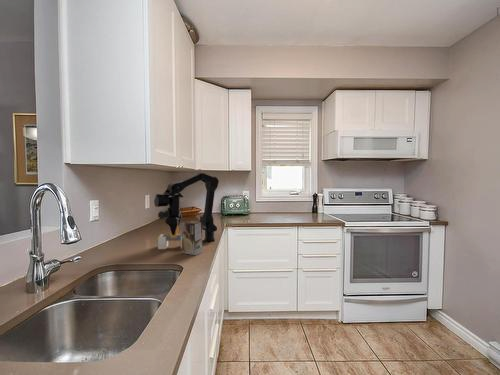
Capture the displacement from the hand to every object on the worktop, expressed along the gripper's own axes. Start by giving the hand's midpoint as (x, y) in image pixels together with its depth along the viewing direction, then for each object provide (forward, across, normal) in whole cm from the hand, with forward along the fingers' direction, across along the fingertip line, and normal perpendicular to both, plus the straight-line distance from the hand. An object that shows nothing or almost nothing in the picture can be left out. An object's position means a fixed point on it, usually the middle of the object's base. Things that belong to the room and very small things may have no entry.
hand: (174, 233), depth 144 cm
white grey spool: (+8, 0, 0) cm, 8 cm away
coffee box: (+8, +12, +11) cm, 18 cm away
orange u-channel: (+2, 0, 0) cm, 2 cm away
